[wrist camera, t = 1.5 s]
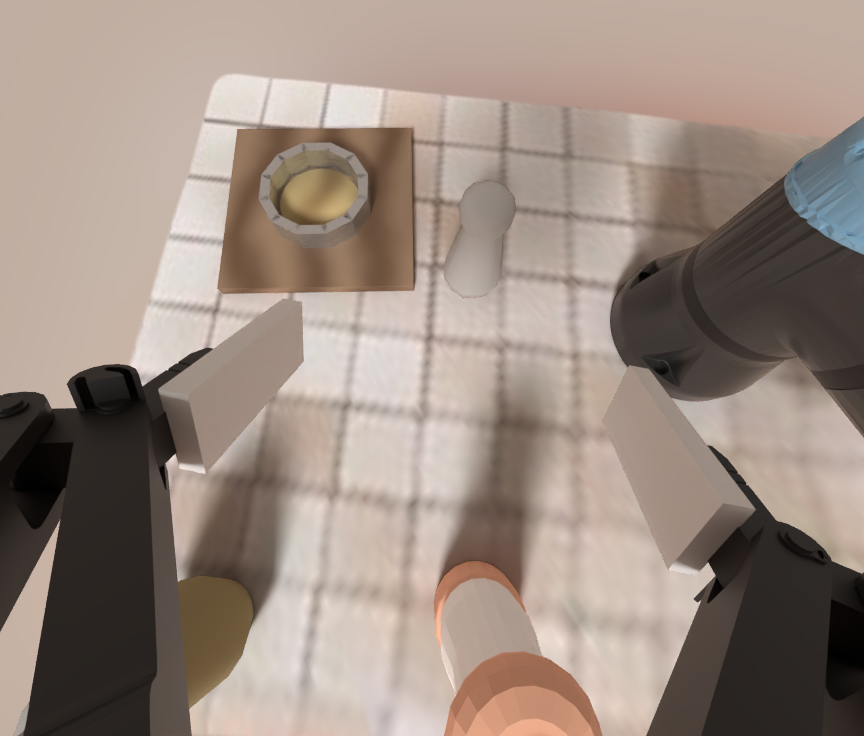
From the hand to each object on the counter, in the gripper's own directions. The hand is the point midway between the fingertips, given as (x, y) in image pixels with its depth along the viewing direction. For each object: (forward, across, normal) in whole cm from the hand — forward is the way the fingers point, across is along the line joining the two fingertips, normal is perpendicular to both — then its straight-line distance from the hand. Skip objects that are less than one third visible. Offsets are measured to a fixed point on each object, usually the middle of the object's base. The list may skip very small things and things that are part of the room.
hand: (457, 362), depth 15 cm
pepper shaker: (+5, +6, -26) cm, 28 cm away
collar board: (+30, -17, -1) cm, 35 cm away
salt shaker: (+26, 0, -5) cm, 27 cm away
